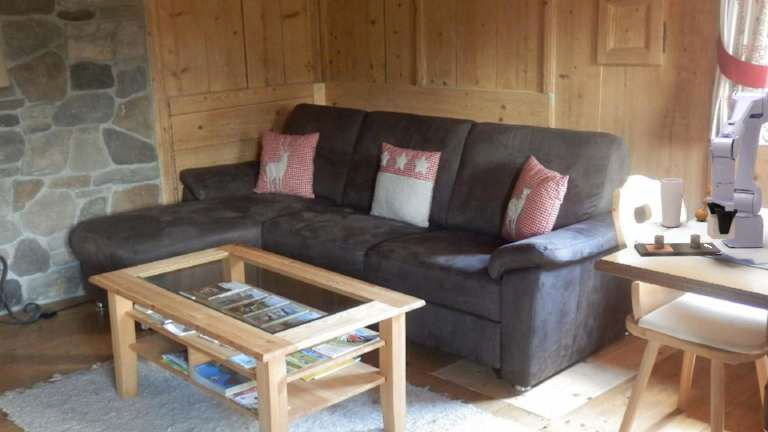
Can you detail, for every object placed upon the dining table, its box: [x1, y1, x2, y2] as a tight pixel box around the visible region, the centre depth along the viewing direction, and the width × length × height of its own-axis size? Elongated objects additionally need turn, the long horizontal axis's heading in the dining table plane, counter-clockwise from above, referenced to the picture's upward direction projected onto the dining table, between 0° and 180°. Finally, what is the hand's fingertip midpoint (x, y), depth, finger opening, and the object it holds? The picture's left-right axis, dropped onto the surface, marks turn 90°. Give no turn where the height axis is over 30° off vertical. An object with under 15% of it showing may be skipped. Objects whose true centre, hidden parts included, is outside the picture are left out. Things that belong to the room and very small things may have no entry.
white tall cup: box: [660, 177, 684, 228], centre depth 270 cm, size 7×7×15 cm
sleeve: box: [706, 213, 735, 240], centre depth 231 cm, size 6×6×6 cm
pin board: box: [633, 233, 723, 257], centre depth 243 cm, size 22×10×4 cm, turn 84°
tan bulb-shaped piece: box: [694, 184, 711, 222], centre depth 275 cm, size 8×6×12 cm
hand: (720, 231), depth 231 cm, fingers closed on sleeve, 6 cm apart
